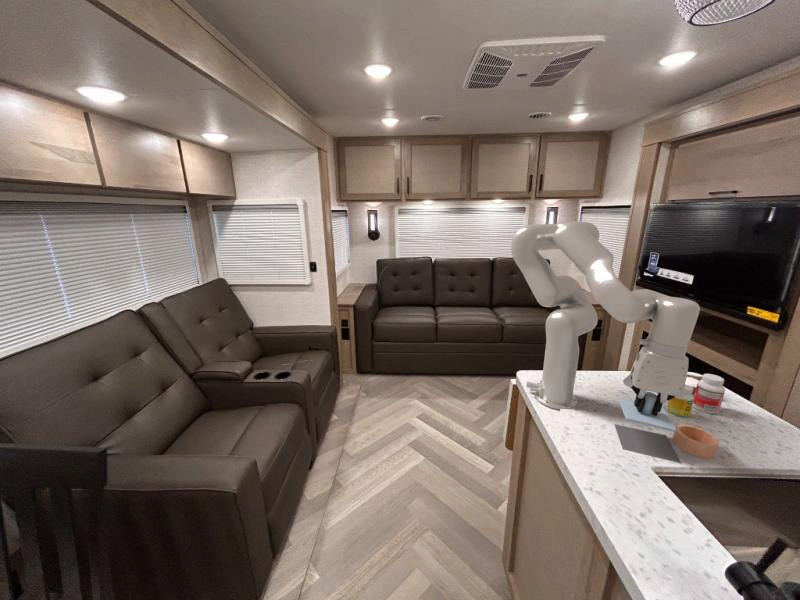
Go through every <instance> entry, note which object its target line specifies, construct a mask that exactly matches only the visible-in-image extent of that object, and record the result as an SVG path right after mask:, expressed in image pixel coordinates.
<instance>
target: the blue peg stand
mask: <svg viewBox="0 0 800 600" xmlns="http://www.w3.org/2000/svg"><path fill="white" fill-rule="evenodd" d="M644 396H645V397H644V398H645V404H644V407H643V410H642V412H638V410H637V408H636V407H635V406H634V401H635V399H630V398H624V397H621V396H618V402H619V404H620V407H621V409H622V412H623V415H624V418H625V420H626V422H631V423H636V424H640V425H643V426H648V427H652V428H657V429H659V430H663V431H668V432H672V433H674V432H676V429H675V428H676V427H675V425H674V424H673V423H672V420H671V419H670V417H669V414H668V413H667V412H666V410H665V408H664V406H662V408H661V411H660V412H658V414H657V416H654V415H653V414H652V412H653V408H654V405H655V402H656V399H657V393H656V394H655V392H652V391H646V393H645V395H644Z"/></svg>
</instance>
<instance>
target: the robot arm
mask: <svg viewBox="0 0 800 600" xmlns="http://www.w3.org/2000/svg"><path fill="white" fill-rule="evenodd" d="M599 240H600V231H599V229H598V227H597V225H595V224H594V223H592V222H590V221H570V222H565V223H547V224H546V223H544V224H543V223H542V224H540V223H538V224H535V223H534V224H527V225H525V226H523V227H520V228H519V229H518V230H517V231H515V233H514V234H513V237H512V240H511V243H510V246H511V247H510V251H511V255H512V259H513V260H514V263H515V264H516V266H517V267H518V268H519V270H520V273H522V275H523V277H524V279H525V281H526V282H527V284H528V286H529V288H530V290H531V292H532V294H533V296H534V298H535V299H536V302H537V303H538V304H539V305H540V306H542V307H545V308H552V307H557V306H559V307H560V308H558V309H555V310H554V311H552V312H550V313H549V315H548V316H547V318H546V320H545V338H546V339H545V340H546V341H545V351H544V359H543V360H544V361H543V369H542V376H541V380H540V382H533V381H531V382H530V381H526V388H528V389H529V391H530V392H535V393H534V397H535V399H536V400H537V401H538V402H539V403H541V404H542V405H544V406H546V407H547V408H551V409H554V410H561V409H563V410H568V409H573V408H575V407H576V406H577V405H578V399H577V397H576V396H575V395H574V390H575V383H576V376H577V371H578V363H579V357H580V345H579V336H582V335H583V334H586V333H589V332H591V331H592V330H593V331H594V329H595V328H596V326H597V325H598V321H599V319H598V313H597V312H596V309H595V307H594V306H593V304H592V302H591V301H590V299H589V296H587V294H586V292H585V290H584V289H583V287H582V286H581V284H580V282H578V281H577V279H575V278H573V277H571V276H569V275H564V274H563V275H557V274H556V273H555V271H554V270H553V269H552V267H551V265H550V263H549V262H548V260H547V259H546V258H545V257H544V256H543V255H541V254H540V253H539V251H547V250H560V251H561V252H562V253H563V254H564V255H565V256H566V257H567V258H568V259H569V261H571V262H572V264H573V265H574V266H575V267H576V268H578V270H579V271H580V272H581V273H582V274H583V275H584V277H585V281H586V284H587V286H588V288H589V291H590V293H591V295H592V297H593V298H594V300H595V301H597V303H598V305H600V306H601V307H602V308H603V309H604V311H606V312H607V313H608V314H609V315H610V316H611V317H612V318H614V319H615V320H617V321H619V322H621V323H625V324H636V323H639V322H641V321H643V320H652V322H651V326H650V330H649V332H648V336H647V337H646V338H641V339H640V340H639V345H642V347H641V348H640V350H639V352H638V353H637V355H636V357H635V360H634V362H633V365H632V367H631V369H630V373H629V374H628V375H627V377H624V379H623V380H622V383H623V385H624V386H626V387H627V388H629V389H631V390H632V391H633V392H634V394H635V398H634V400H635V401H634V406H635V407H636V408H637V410H638V412H642V410H643V407H644V404H645V398H644V397H645V396H644V395H645V393H646V392H651V393H656V395H657V399H656V402H655V405H654V408H653V412H652V414H653V415H654V416H657V414H658V412H660V411H661V408H662V407H663V405H664V404H666V403H667V402H668V401H669V400H671V399H673V398H679V397H684V396H685V393H684V387H685V383H686V378H687V374H688V370H689V357H688V356H686V353H687V350H688V347H689V344H690V341H691V339H692V335H693V332H694V329H695V328H696V327H695V326H696V324H697V320H698V319H699V318H698V317H699V314H700V311H701V307H700V305H699V304H698V303H697V302H696V301H694V300H691V299H688V298H684V297H683V298H682V297H676V296H669V295H666V294H664V293H660V292H657V291H655V290H651V289H647V288H641V289H636V290H632V291H631V290H630V289H629V288H628V287H627V286H626V285H624V284H623V283H622V281H621V280H620V279H619V278H618V277H617V275H616V273H615V272H614V268H613V263H614V260H615V259H614V258H615V256H614V254H613V253H612V252H611V251H610V250H609V249H608V248H606V246H604V245H603V244H602V243H601V242H600V241H599Z"/></svg>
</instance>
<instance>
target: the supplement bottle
mask: <svg viewBox="0 0 800 600" xmlns="http://www.w3.org/2000/svg"><path fill="white" fill-rule="evenodd" d="M684 393H685V396H684V397H679V398H673V399H671V400H668V401H667V405H666V410H665V411H667V412H669V414H671V415H674V416H676V417H679V418H689V417H690V415H691V413H692V409H693V401H694V396H693V395H692V393H693V388H692V387H691V386H689V385H686V384H685V387H684Z"/></svg>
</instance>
